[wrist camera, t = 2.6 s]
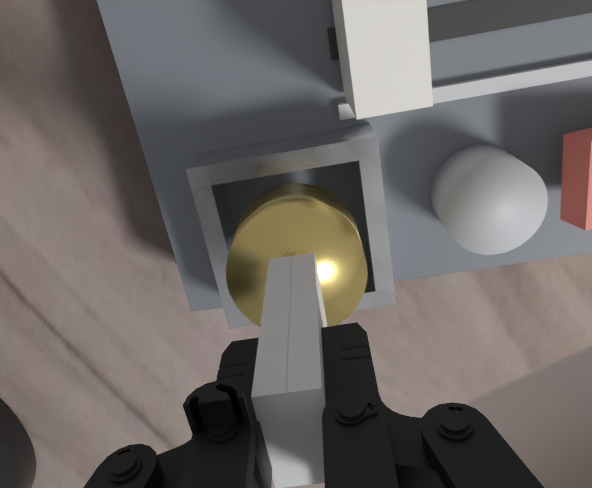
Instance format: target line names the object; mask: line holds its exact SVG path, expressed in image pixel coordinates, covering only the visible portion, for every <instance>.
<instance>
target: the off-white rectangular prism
mask: <svg viewBox="0 0 592 488" xmlns="http://www.w3.org/2000/svg"><path fill="white" fill-rule="evenodd" d="M332 8H333V15H334V23H335V30H336V38H337V46H338V53H339V61H340V68H341V76H342V83H343V91H344V96H345V98H346V100H347V102H348V104H349V106H350V108H351V110H352V112H353V113H354V115H355V117H356V119H363V118H368V117H374V116H380V115H385V114H391V113H397V112H403V111H408V110H414V109H420V108H425V107H431V106H433V95H432V80H431V64H430V48H429V32H428V17H427V1H426V0H332Z"/></svg>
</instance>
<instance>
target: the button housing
mask: <svg viewBox="0 0 592 488" xmlns="http://www.w3.org/2000/svg"><path fill="white" fill-rule="evenodd" d="M353 161H355V165H356V173H357V181H358V188H359V196H360V203H361V211H362V219H363V226H364V234H365V242H366V249H367V257H368V265H367V271H368V276H367V284H366V288H365V292H364V294H363V297H362V299H361V301H360V302H359V304H358V306H357V307H356V308H355V310H362V309H369V308H376V307H383V306H390V305H396V298H395V289H394V280H393V271H392V262H391V252H390V243H389V234H388V225H387V216H386V207H385V198H384V189H383V180H382V171H381V162H380V152H379V143H378V136H377V134H376V133H375V131H374V129H373V128H372V126H371V125H370V123H366V124H360V125H354V126H348V127H343V128H337V129H331V130H325V131H320V132H314V133H308V134H303V135H297V136H291V137H285V138H280V139H274V140H268V141H262V142H257V143H251V144H245V145H239V146H234V147H228V148H222V149H216V150H211V151H205V152H199V153H197V154H196V156H195V157H194V158H193V160H192V161H191V162H190V164H189V165H188V167H187V168H186V173H187V176H188V180H189V184H190V187H191V191H192V195H193V198H194V202H195V205H196V209H197V213H198V216H199V220H200V224H201V227H202V231H203V235H204V238H205V242H206V246H207V249H208V253H209V257H210V260H211V264H212V268H213V271H214V275H215V279H216V282H217V286H218V290H219V293H220V297H221V301H222V304H223V308H224V312H225V315H226V319H227V323H228V326H229V329H232V328H239V327H246V326H252V325H256V324H255V323H253V322H252V321H250V320H249V319H248V318H247V317H246V316H244V315H243V313H242V312H241V311H240V310H239V309H238V308H237V306H236V305H235V303H234V302H233V300H232V298H231V296H230V293H229V290H228V287H227V282H226V264H227V259H228V256H229V252H230V249H231V245H232V242H233V238H234V235H235V232H236V231H235V227H234V223H233V219H232V215H231V211H230V206H229V202H228V198H227V194H226V190H225V186H224V183H228V182H234V181H240V180H246V179H252V178H258V177H264V176H270V175H276V174H281V173H287V172H293V171H299V170H305V169H311V168H317V167H323V166H329V165H335V164H341V163H347V162H353ZM355 310H354V311H355Z"/></svg>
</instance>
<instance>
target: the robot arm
mask: <svg viewBox="0 0 592 488" xmlns="http://www.w3.org/2000/svg"><path fill="white" fill-rule="evenodd" d="M219 368H220V369H219V370H218V374H217V380H216V381H215V382H211V383H207V384H205V385H203V386H201V387H199V388H197V389H195V390H194V391H193V392H192V393H191V394H190V395H189V396H188V397H187V399H186V400H185V402H184V404H183V408H184V410H185V413H186V416H187V419H188V422H189V425H190V428H191V431H192V434H193V435H192V439H191V440H190V441H188V442H187V443H185V444H183V445H181V446H179V447H177V448H174V449H172V450H169V451H166V452H164V453H161V454H159V455H157V454H156V452H155V451H154V450H153V449H152V448H151V447H150V446H147V445H144V444H135V445H129V446H126V447H123V448H121V449H118V450H117V451H115V452H114V453H112V454H111V455H109V456H108V457H107V458H106V459H105V460H104V461H103V462H102V463H101V464H100V465H99V466H98V468H97V469H96V471H95V472H94V473H93V475H92V476H91V478H90V479H89V481H88V482H87V483H86V485H85V486H84V488H271V480H272V477H273V481H274V484H275V488H284V487H293V486H301V485H310V484H318V483H325V488H544V487H543V486H542V485H541V483H540V482H539V481H538V480H537V479H536V477H535V476H534V475H533V474H532V473H531V472H530V470H529V469H528V468H527V467H526V465H525V464H524V463H523V462H522V460H521V459H520V458H519V457H518V456H517V454H516V453H515V452H514V451H513V449H512V448H511V447H510V446H509V445H508V443H507V442H506V441H505V440H504V439H503V437H502V436H501V435H500V434H499V433H498V431H497V430H496V429H495V428H494V427H493V425H492V424H491V423H490V422H489V420H488V419H487V418H486V417H485V416H484V415H483V414H482V413H480V412H479V411H478V410H477V409H475V408H472V407H470V406H468V405H465V404H459V403H446V404H439V405H437V406H435V407H433V408H431V409H429V410H428V411H427V412H426V414H425V415H424V416H423V417H422V418H417V417H410V416H405V415H401V414H398V413H396V412H394V411H392V410H391V409H389V408H388V407H386V406H385V404H384V403H383V402H382V401H381V398H380V396H379V392H378V387H377V382H376V377H375V372H374V367H373V362H372V357H371V352H370V347H369V342H368V337H367V332H366V331H365V330H364V329H363V328H362V327H361V326H360V325H359V324H358V323H350V324H343V325H336V326H329V327H327V320H326V314H325V309H324V303H323V297H322V292H321V286H320V280H319V275H318V269H317V264H316V258H315V252H312V253H306V254H299V255H293V256H286V257H280V258H273V259H269V265H268V272H267V280H266V287H265V295H264V303H263V310H262V318H261V325H260V333H259V338H253V339H246V340H239V341H232V342H231V344H230V345H229V346H228V347H227V349H226V350H225V351H224V352H223V354H222V357H221V362H220V366H219ZM35 472H36V459H35V453H34V449H33V446H32V443H31V440H30V438H29V436H28V434H27V432H26V431H25V429H24V427H23V426H22V424H21V423H20V421H19V420H18V419H17V417H16V416H15V415H14V414H13V413H12V411H11V410H10V409H9V408H8V407H7V406H6V405H5V404H4V403H3V402H1V401H0V488H31V487H32V484H33V482H34V478H35Z"/></svg>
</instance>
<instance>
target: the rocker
mask: <svg viewBox="0 0 592 488" xmlns="http://www.w3.org/2000/svg"><path fill="white" fill-rule="evenodd" d="M560 220H563V221H565V222H567V223H569V224H572V225H574V226H576V227H578V228H581V229H583V230H585V231H586V230H590V229H592V127H591V128H587V129H583V130H579V131H576V132H572V133H568V134H564V136H563V160H562V185H561V209H560Z"/></svg>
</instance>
